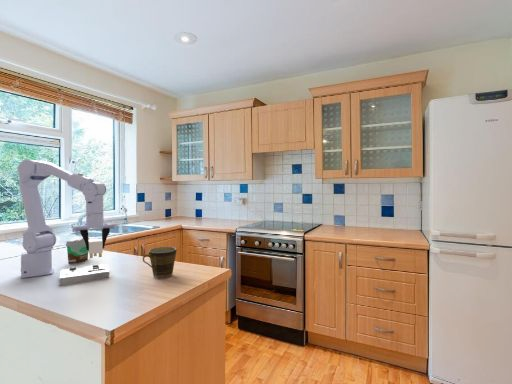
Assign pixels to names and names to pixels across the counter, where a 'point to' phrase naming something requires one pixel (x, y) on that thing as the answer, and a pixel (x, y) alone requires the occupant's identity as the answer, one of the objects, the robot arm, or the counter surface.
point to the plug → (95, 247)
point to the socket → (83, 274)
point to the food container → (77, 251)
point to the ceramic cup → (162, 261)
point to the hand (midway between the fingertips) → (95, 249)
